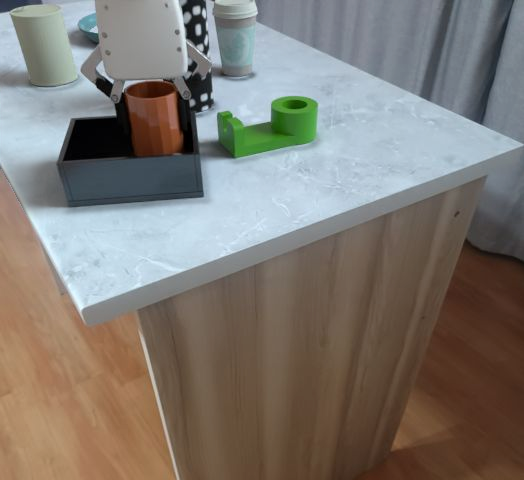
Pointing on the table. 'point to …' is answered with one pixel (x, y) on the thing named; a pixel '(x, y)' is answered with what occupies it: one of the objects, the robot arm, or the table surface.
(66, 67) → the can
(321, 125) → the table surface
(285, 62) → the table surface
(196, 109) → the white-spotted black cylinder
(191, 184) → the dark grey storage bin
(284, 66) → the table surface
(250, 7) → the coffee cup
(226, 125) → the tape dispenser
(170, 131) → the cup
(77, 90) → the table surface
